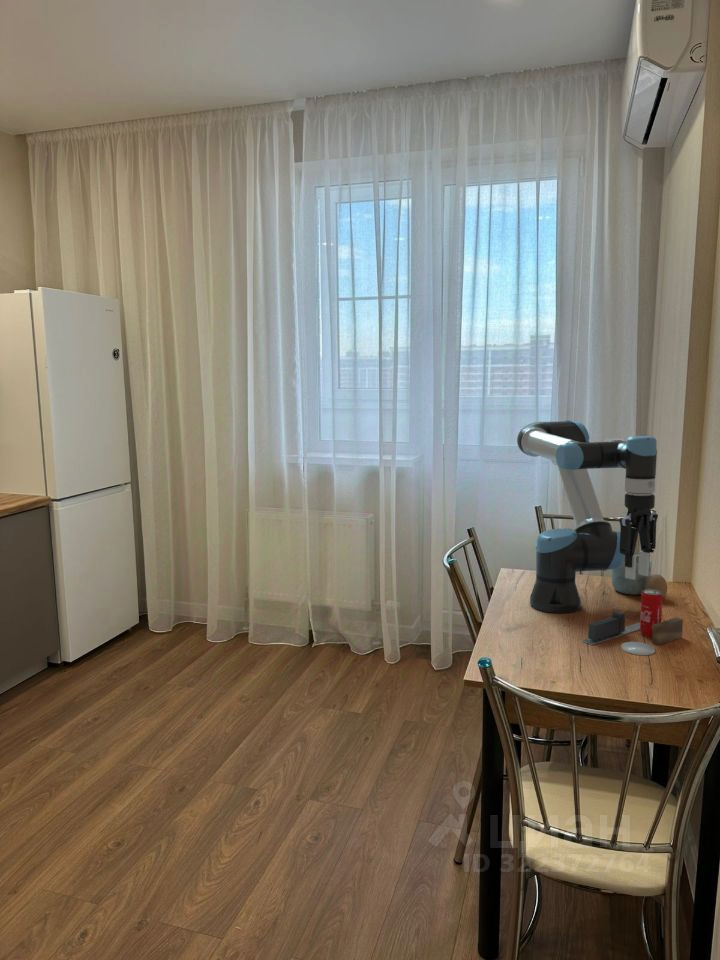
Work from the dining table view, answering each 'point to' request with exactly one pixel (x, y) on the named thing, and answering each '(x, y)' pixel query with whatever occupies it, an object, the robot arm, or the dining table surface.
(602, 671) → the dining table surface
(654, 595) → the beverage can
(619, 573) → the planter
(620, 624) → the dark grey block
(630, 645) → the coaster
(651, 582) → the egg
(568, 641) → the dining table surface
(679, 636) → the block
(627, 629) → the rail
